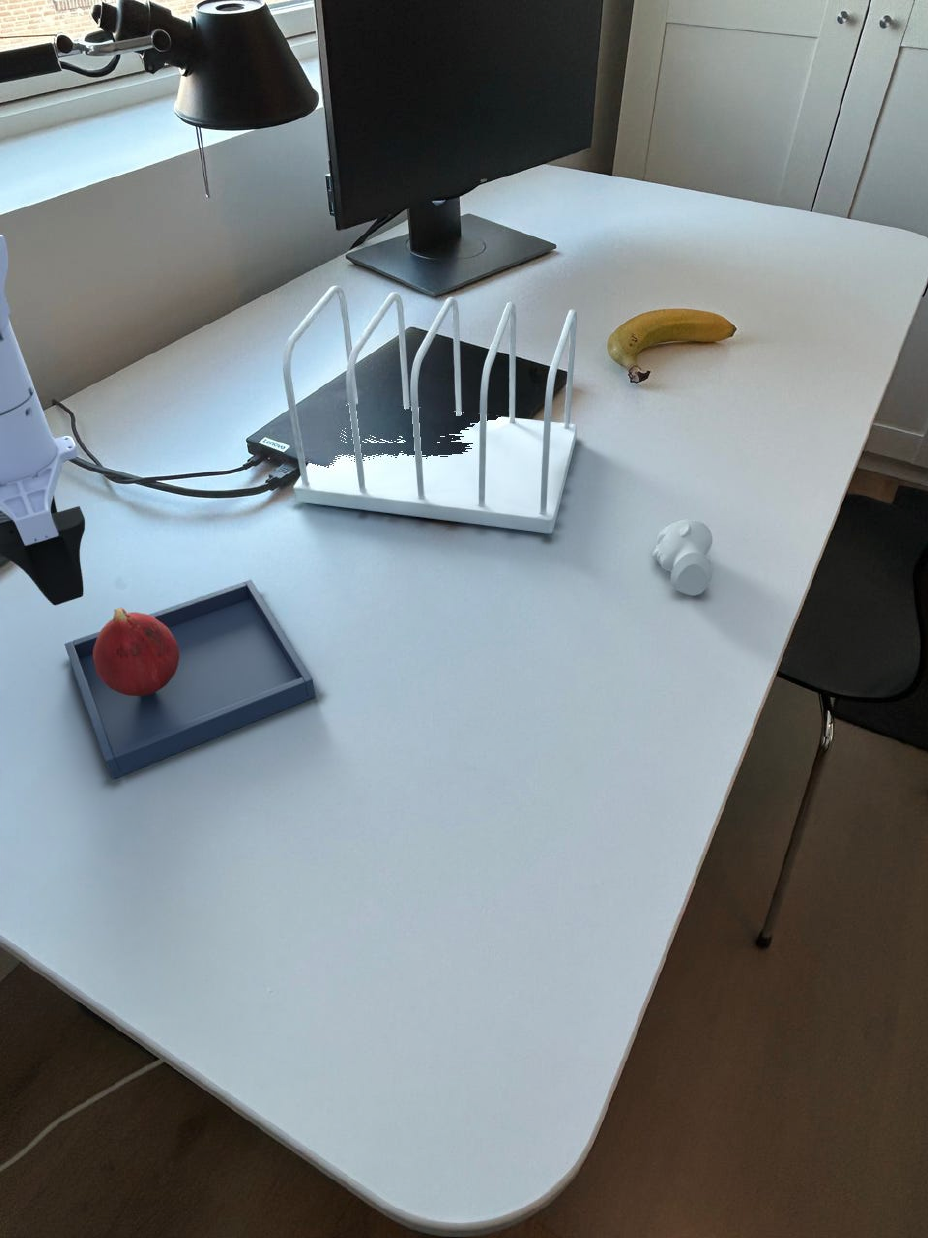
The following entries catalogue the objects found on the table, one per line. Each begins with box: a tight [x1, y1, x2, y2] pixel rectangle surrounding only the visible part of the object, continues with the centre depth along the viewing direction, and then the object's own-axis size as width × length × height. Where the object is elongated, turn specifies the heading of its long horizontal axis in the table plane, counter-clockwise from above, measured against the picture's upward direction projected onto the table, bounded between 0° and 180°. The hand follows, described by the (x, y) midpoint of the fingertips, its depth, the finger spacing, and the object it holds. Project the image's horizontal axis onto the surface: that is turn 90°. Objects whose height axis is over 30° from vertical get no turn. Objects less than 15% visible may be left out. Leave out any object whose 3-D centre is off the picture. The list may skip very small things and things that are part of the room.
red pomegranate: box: [93, 607, 179, 696], centre depth 64 cm, size 6×6×8 cm
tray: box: [64, 579, 317, 779], centre depth 67 cm, size 15×13×2 cm
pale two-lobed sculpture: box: [652, 518, 713, 596], centre depth 76 cm, size 4×8×5 cm
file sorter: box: [282, 285, 578, 534], centre depth 83 cm, size 25×17×16 cm
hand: (56, 567), depth 63 cm, fingers open, 7 cm apart
